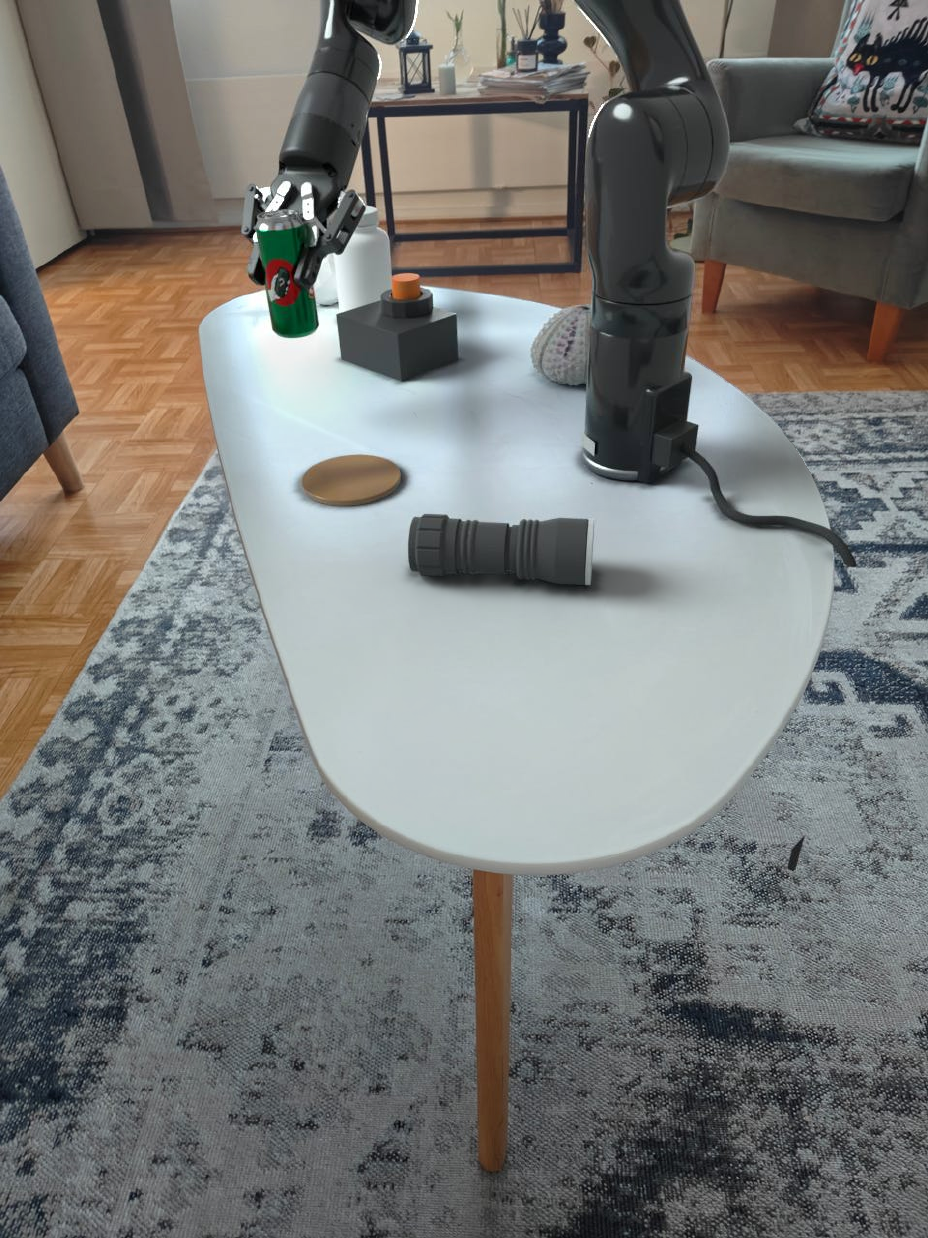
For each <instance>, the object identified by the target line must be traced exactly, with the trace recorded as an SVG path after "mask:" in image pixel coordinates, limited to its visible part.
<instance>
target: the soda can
mask: <svg viewBox="0 0 928 1238" xmlns="http://www.w3.org/2000/svg"><path fill="white" fill-rule="evenodd" d="M257 219H258V221H257V224H256V227H255V231H256V237H257V243H258V248H259V254H260V260H261V266H262V272H263V278H264V284H265V285H264V290H265V294H266V301H267V302H266V303H267V308H268V312H269V318H270V325H271V330H272V332H274V334H275V335H277V336H278V337H279V338H283V339H284V338H285V339H301V338H306V337H308V336H311V335H313V334H315V332H316V331H317V330H318V329H319V326H320V322H319V314H318V308H317V307H318V306H317V303H316V299H315V292H314V285H313V286H312V285H311V288H310V290H309V291H306V290H301V289H300V288H299V287H298V286H297V285H296V284H295V282H294V276H295V272H296V269H297V266H298V263H299V260H300V256H301V253H302V250H303V247H306V248H307V247H308V245H307V241H306V227H305V223H304V221H303V220H302V219H301V217H300V212H299V211H296V210H288V209H283V210H272V211H267V212H263V213H261V214H259V215H257Z"/></svg>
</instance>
